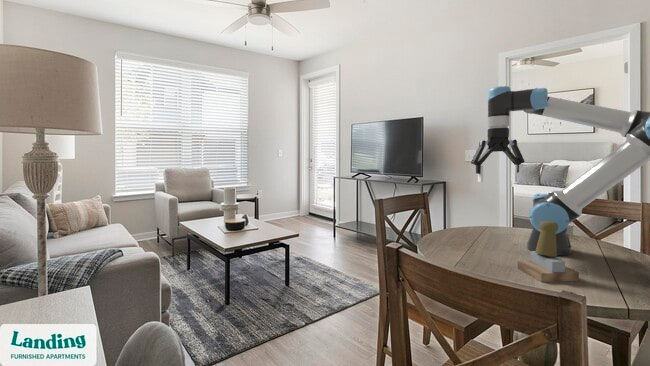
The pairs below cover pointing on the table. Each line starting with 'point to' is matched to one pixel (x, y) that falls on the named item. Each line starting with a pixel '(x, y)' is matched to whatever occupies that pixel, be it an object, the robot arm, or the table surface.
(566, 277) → the wooden flat board
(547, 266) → the slate-grey block
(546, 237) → the olive ball-ended rod
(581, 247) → the table surface
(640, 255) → the table surface
